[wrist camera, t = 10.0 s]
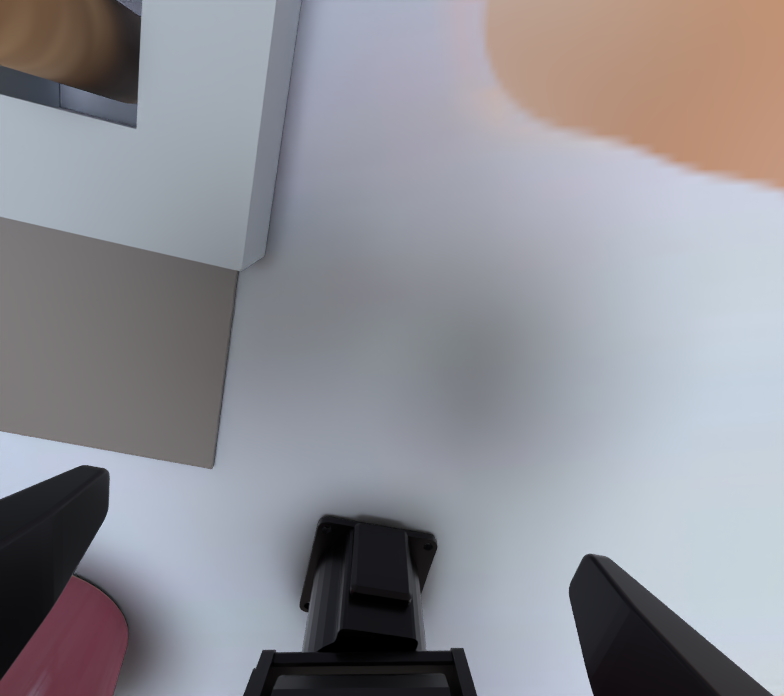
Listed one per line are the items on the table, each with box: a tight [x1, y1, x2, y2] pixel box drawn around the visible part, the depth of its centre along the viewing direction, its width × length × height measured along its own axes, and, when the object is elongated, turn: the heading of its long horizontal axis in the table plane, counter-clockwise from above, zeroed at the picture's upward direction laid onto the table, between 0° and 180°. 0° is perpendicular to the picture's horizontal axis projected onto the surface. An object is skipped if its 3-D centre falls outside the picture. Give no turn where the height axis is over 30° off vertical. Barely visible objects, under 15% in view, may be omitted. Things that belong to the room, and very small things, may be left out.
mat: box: [0, 217, 238, 469], centre depth 20 cm, size 14×10×1 cm
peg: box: [0, 0, 141, 104], centre depth 12 cm, size 3×3×9 cm
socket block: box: [0, 0, 302, 271], centre depth 15 cm, size 12×12×4 cm
